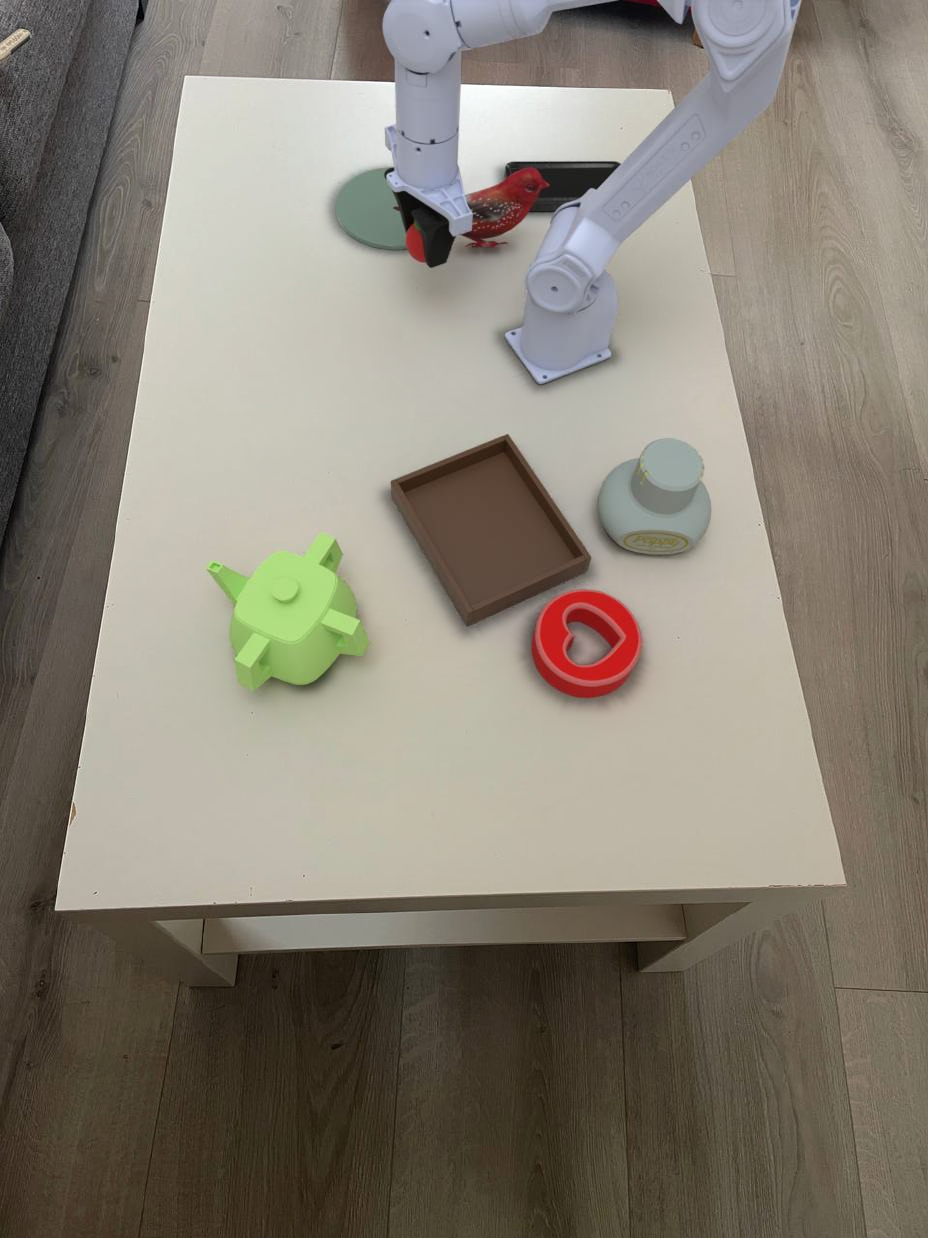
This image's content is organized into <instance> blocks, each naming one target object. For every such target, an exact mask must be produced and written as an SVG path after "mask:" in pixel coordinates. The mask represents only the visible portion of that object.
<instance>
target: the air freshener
mask: <svg viewBox="0 0 928 1238" xmlns="http://www.w3.org/2000/svg"><path fill="white" fill-rule="evenodd" d="M704 471H705V464H704V462H703V457H702V456H701V455H700V454H699V452H698V450H697V449H696V448H694V446H692V445H691V444H689V443H687V442H686V441H683V440H680V439H676V438H668V437H665V438H659V439H655V440H653V441H651V442H650V443H648V444H647V445H646V446H645V447H644V448H643V450H642V451H641V453H640V456H639V457H638V458H632V459H629V460H625V461H623V462H621V463H620V464H618V465H616V466H615V467H614V468H613V469H612V470H611V471H610V472H609V473H608V474H607V475H606V477H605V479H604V480H603V481H602V484H601V485H600V488H599V491H598V492H599V493H598V495H597V512H598V517H599V519H600V522H601V524H602V526H603V528H604V530H605V531H606V533H607V535H608V536H609V537H610V538H611V539H612V540H613V541H614V542H615V543H617V544H618V545H619V546H620V547H622V548H624V549H625V550H628V551H631V552H635V553H639V554H643V555H644V554H645V555H674V554H679V553H682V552H685V551H688V550H690V549H691V548H693V547H694V546H695V545H697V544H698V542H700V540H701V539H702V538H703V537H704V535H705V534H706V532H707V530H708V528H709V525H710V522H711V517H712V502H711V497H710V494H709V491H708V489H707V487H706V485H705V483H704V482H703V481H702V479H703V477H704V474H705V472H704Z"/></svg>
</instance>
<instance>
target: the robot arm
mask: <svg viewBox="0 0 928 1238" xmlns="http://www.w3.org/2000/svg"><path fill="white" fill-rule="evenodd" d="M614 1H615V2H616V1H618V0H390V1H389V4H387V8H386V9H385V11H384V14H383V18H382V34H383V39H384V42H385V45H386V47H387V49H388V51H389V52H390V54H391V55H392V57H393V58H394V94H395V95H394V98H395V100H394V102H395V123H394V124H391V125H388V126H385V127H384V145H385V147H386V149H387V150H388V151H390V153H391V159H392V163H393V166H391V167H392V168H389V169H387V170H386V171H385V173H384V177H385V179H386V180H387V183H388V185H389V186H390V188H391V189H392V191H393V194H394V196H395V198H396V201H397V204H398V207H399V210H400V213H401V217H402V221H403V225H404V229H405V232H406V234H407V231H408V229H409V227H410V226H411V225H412V224H413V223H414V219H415V220H416V222H417V224H418V227H419V229H420V232H421V236H422V241H423V249H424V256H425V260H426V263H425V264H426V265H427V267H428V268H429V269H433V268H436V267H438V266H441V265H445V264H447V262H448V259H449V257H450V255H451V251H452V248H453V245H454V242H455V240H456V238H457V236H461V234H464V233H466V232H469V231H472V219H473V213H472V211H471V207H470V205H469V204H468V202H467V201H466V197H465V195H466V193H465V189H464V184H463V179H462V174H461V170H460V165H459V164H458V162H459V141H460V140H459V139H460V114H461V113H460V112H461V90H462V89H461V88H462V52H463V51H470V50H474V49H478V48H483V47H487V46H492V45H497V44H500V43H504V42H509V41H513V40H517V39H522V38H526V37H530V36H535V35H538V34H540V33H542V32H543V30H544V29H545V28H546V26H547V24H548V22H549V20H550V18H551V16H552V14H553V12H558V11H563V10H569V9H576V8H583V7H587V6H592V5H598V4H599V5H600V4H604V3H611V2H614ZM656 1H657V2H658V3H659V4H660V6H661V7H662V8H663V9H664V10H665V11H666V13H667V14H668V15H669V16H670V17H671V18H672V19H673V20H674V22H675V23H676V24H679V25H682V24H683V22H684V20H685V18H686V15H687V13H688V10H689V8H690V11H691V19H692V21H693V25H694V28H695V31H696V34H697V36H698V38H699V40H700V43H701V46H702V47H703V50H704V52H705V54H706V56H707V59H708V61H709V62H708V63H709V71H708V72H707V73H706V74H705V75H704V76H703V77H702V78H701V79H700V81H698V83H697V84H695V86H694V87H693V88H692V89H691V90H690V91H689V92H688V93H687V94H686V95H685V96H684V97H683V98H682V100H680V101H679V102H678V103H677V105H675V107H673V109H672V110H671V111H670V112H669V113H668V114H667V115H666V116H665V117H664V118H663V119H662V121H660V123H659V124H657V125H656V126H655V128H654V129H652V131H651V132H650V133H649V134H648V135H647V136H646V137H645V138H644V139H643V140H642V141H641V143H640V144H639V145H638V146H637V147H636V148H635V149H633V151H632V152H631V153H630V154H629V155H628V156H627V157H626V159H624V160H623V161H622V163H621V165H620V166H619V167H618V168H617V169H616V170H615V171H614V172H613V173H612V174H611V175H610V176H609V177H608V178H607V179H606V180H605V182H604V183H603V184H602V185H601V186H600V187H599V188H598V189H597V190H596V189H593V188H591V189H589V190H588V191H587V192H586V193H585V194H584V195H583V196H582V197H581V198H579V199H577V200H575V201H571V202H568V203H565V204H563V205H562V206H560V207H559V208H558V209H557V210H556V211H554V213H553V214H552V217H551V219H550V222H549V227H548V229H547V231H546V233H545V235H544V237H543V239H542V242H541V244H540V246H539V249H538V250H537V253H536V254H535V257H534V259H533V261H532V262H531V263H530V264H529V266H528V268H527V270H526V272H525V275H524V287H525V291H526V297H525V303H524V304H525V305H524V311H523V318H522V326H520V327H518V328H514V329H512V330H509V331H506V333H504V339H505V340H506V342H507V343H508V344H509V345H510V347H511V349H512V350H513V351H514V353H515V354H516V356H517V357H518V358H519V360H520V361H521V363H522V364H523V365H524V366H525V368H526V369H527V370H528V373H530V375H531V377H532V378H533V379H534V381H535V382H536V383H537V384H539V385H543V384H546V383H549V382H551V381H554V380H556V379H560V378H562V377H564V376H566V375H569V374H573V373H574V372H577V371H579V370H583V369H584V368H587V367H590V366H593V365H595V364H597V363H601V362H602V361H605V360H608V359H610V358H611V357H612V351H611V350H610V349H609V344H610V341H611V337H612V334H613V330H614V326H615V322H616V319H617V314H618V312H619V311H618V310H619V295H618V290H617V285H616V283H615V281H614V279H613V276H611V274H610V272H609V271H608V269H606V268H607V267H608V265H609V263H610V262H611V260H612V259H613V257H614V255H615V254H616V252H617V251H618V250H619V248H620V247H621V245H622V244H623V243H624V242H625V241H626V240H627V239H629V237H630V236H631V235H633V233H634V232H636V231H637V230H638V229H639V228H640V227H641V226H642V225H643V224H644V223H646V222H647V221H648V220H649V218H651V217H652V216H653V215H654V214H656V212H657V211H658V210H660V208H662V207H663V206H664V205H665V204H666V203H667V202H668V201H669V200H671V198H672V197H673V196H675V195H676V194H677V193H678V192H679V191H680V190H681V189H682V188H683V187H685V185H686V184H687V183H688V182H690V180H692V179H693V178H694V177H695V176H696V175H697V174H698V173H699V172H700V171H701V170H702V169H704V168H705V167H706V166H707V165H708V164H709V163H710V162H711V161H712V160H713V159H714V158H715V157H716V156H717V155H719V154H720V153H721V152H722V151H723V150H724V149H725V148H727V146H728V145H730V144H731V143H732V142H733V140H735V139H736V138H737V137H738V136H739V135H740V134H742V132H743V131H744V130H745V129H746V128H748V127H749V126H750V125H751V124H752V123H753V122H754V121H755V120H756V119H757V118H758V117H759V116H760V115H762V114H763V113H764V112H765V111H766V110H767V109H768V107H769V106H770V105H771V104H772V102H773V101H774V99H775V97H776V94H777V90H778V87H779V84H780V81H781V78H782V75H783V71H784V68H785V64H786V60H787V57H788V53H789V50H790V46H791V42H792V38H793V34H794V31H795V27H796V23H797V19H798V16H799V12H800V8H801V4H802V2H803V1H802V0H656Z"/></svg>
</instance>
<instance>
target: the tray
mask: <svg viewBox="0 0 928 1238" xmlns="http://www.w3.org/2000/svg"><path fill="white" fill-rule="evenodd" d="M390 496H391V499H392V501H393V503H394V505H395V506H396V507H397V509H398V512H399V514H401V516H402V518H403V520H404V521H405V523H406V525H407V526H408V529H409V530H410V532H411V533H412V535H413V537H414V539H415V540H416V542H417V544H418V546H419V547H420V549H421V550H422V552H423V554H424V556H425V558H426V559H427V562H428V563H429V564H430V566H431V568H432V569H433V571H434V573H435V575H436V577H437V578H438V580H439V582H440V583H441V585H442V587H443V588H444V590H445V592H446V595H448V597H449V599H450V601H451V602H452V604H453V605H454V607H455V609H456V611H457V612H458V614H459V616H460V618H461V619H462V621H463V623H464V624H465V626H466V627H470V626H471V625H474V624H476V623H478V622H480V621H482V620H485V619H487V618H489V617H491V616H493V615H496V614H498V613H499V612H502V611H504V610H507V609H509V608H511V607H513V606H515V605H518V604H519V603H522V602H524V601H526V600H528V599H530V598H533V597H534V596H535V597H536V596H537V595H540V594H541V593H543V592H545V591H547V590H551V589H552V588H554V587H556V586H557V587H558V585H561V584H563V583H565V582H567V581H569V580H572V579H574V578H576V577H578V576H581V575H582V574H585V573H587V571H588V568H589V566H590V563H591V560H592V556H591V554H590V553H589V552H588V550H587V549H586V547H585V545H584V544H583V542H582V540H581V539H580V538H579V536H578V535H577V533H576V532H575V531H574V529H573V528H572V526H571V524H570V523H569V522H568V520H567V519H566V517H565V515H564V514H563V513H562V511H561V510H560V507H558V506H557V504H556V502H555V500H554V499H553V498H552V497H551V495H550V494H549V492H548V491H547V489H546V488H545V485H544V484H543V483H542V482H541V480H540V479H539V477H538V476H537V474H536V473H535V471H534V470H533V468H532V467H531V465H530V463H528V461H527V459H526V458H525V456H524V455H523V454H522V452H521V451H520V449H519V448H518V446H517V445H516V443H515V441H514V440H513V438H512V437H511V435H509V433H506V434H504V435H502V436H498V437H495V438H494V439H492V440H489V441H487V442H483V443H482V444H478V445H476V446H474V447H472V448H469V449H467V450H464V451H462V452H459V453H457V454H454V455H451V456H449V457H446V458H444V459H442V460H439V461H437V462H434V463H431V464H428V465H427V466H424V467H422V468H419V469H417V470H414V471H412V472H409V473H407V474H404V475H402V476H399V477H397V478H395V479H391V480H390Z"/></svg>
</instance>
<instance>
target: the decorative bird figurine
mask: <svg viewBox="0 0 928 1238" xmlns="http://www.w3.org/2000/svg"><path fill="white" fill-rule="evenodd" d="M548 186H549V184H548V183H547V182H546V181H544V180H543V179H542V176H541V174H540V173H539V172H538V170H536V169H535V168H524V169H522V170H519V171H517V172H514V173H512V174H511V175H510V176H508V177H507V178H506V179H505V178H504V179H503V180H502V181H501V182H499V183H497V184H495V185H492V186H490V187H487V188H484V189H481V190H477V191H473V192H469V193H467V194H465V197H466V201H467V202H468V204H469V205H470V207H471V211H472V213H473V219H472V231H469V232H466V233H464V234H461V235H460V236H462V237H464V238H467V239H469V240H471V241H473V242H470V243H468V244H466V245H465V246H464V248H467V247H470V248H472V249H473V248H488V249H492V248H495V247H497V246H501V245H507V244H509V242H506V241H503V242H497V241H495V240H490V241H487V240H488V239H493V238H495V237H500V236H502V235H504V234H506V233H508V232H509V231H511V230H513V229H515V228H517V226H518V225H519V224H521V222H523V220H524V219H525V218H526V217H527V215H528V214H529V213H530V211H529V210H530V208H531V207H532V205H533V203H534V202H535V201H536V199H537V197H538V195H539V193H540V191H541V189H543V188H545V187H548ZM393 209H395V210H397V211H400V210H399V207H397V206H396V207H393Z"/></svg>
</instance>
